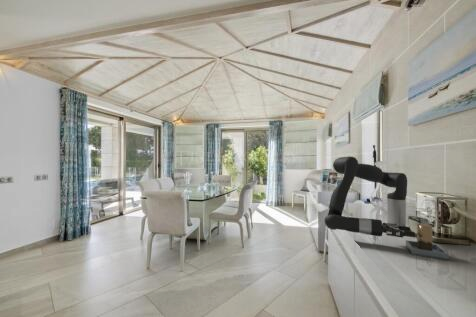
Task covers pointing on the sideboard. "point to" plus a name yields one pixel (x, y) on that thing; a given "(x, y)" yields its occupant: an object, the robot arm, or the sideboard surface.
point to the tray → (427, 251)
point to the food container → (414, 221)
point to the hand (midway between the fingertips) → (412, 232)
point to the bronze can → (424, 237)
